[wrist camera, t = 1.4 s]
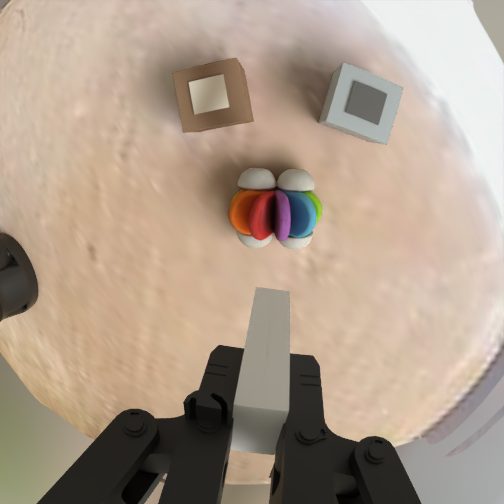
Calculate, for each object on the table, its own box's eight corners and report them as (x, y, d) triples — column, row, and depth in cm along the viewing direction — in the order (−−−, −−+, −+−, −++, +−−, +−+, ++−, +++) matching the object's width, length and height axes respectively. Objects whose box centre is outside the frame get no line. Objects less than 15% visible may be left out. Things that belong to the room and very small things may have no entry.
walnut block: (200, 131, 31) (182, 132, 25) (191, 82, 29) (171, 72, 23) (253, 121, 30) (247, 119, 24) (244, 70, 28) (235, 57, 22)
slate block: (318, 123, 29) (326, 121, 24) (332, 73, 27) (344, 61, 21) (369, 141, 30) (387, 144, 24) (383, 93, 27) (404, 87, 21)
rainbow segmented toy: (233, 165, 32) (220, 175, 26) (321, 169, 31) (332, 179, 25) (233, 238, 35) (222, 264, 29) (316, 241, 35) (323, 268, 28)
